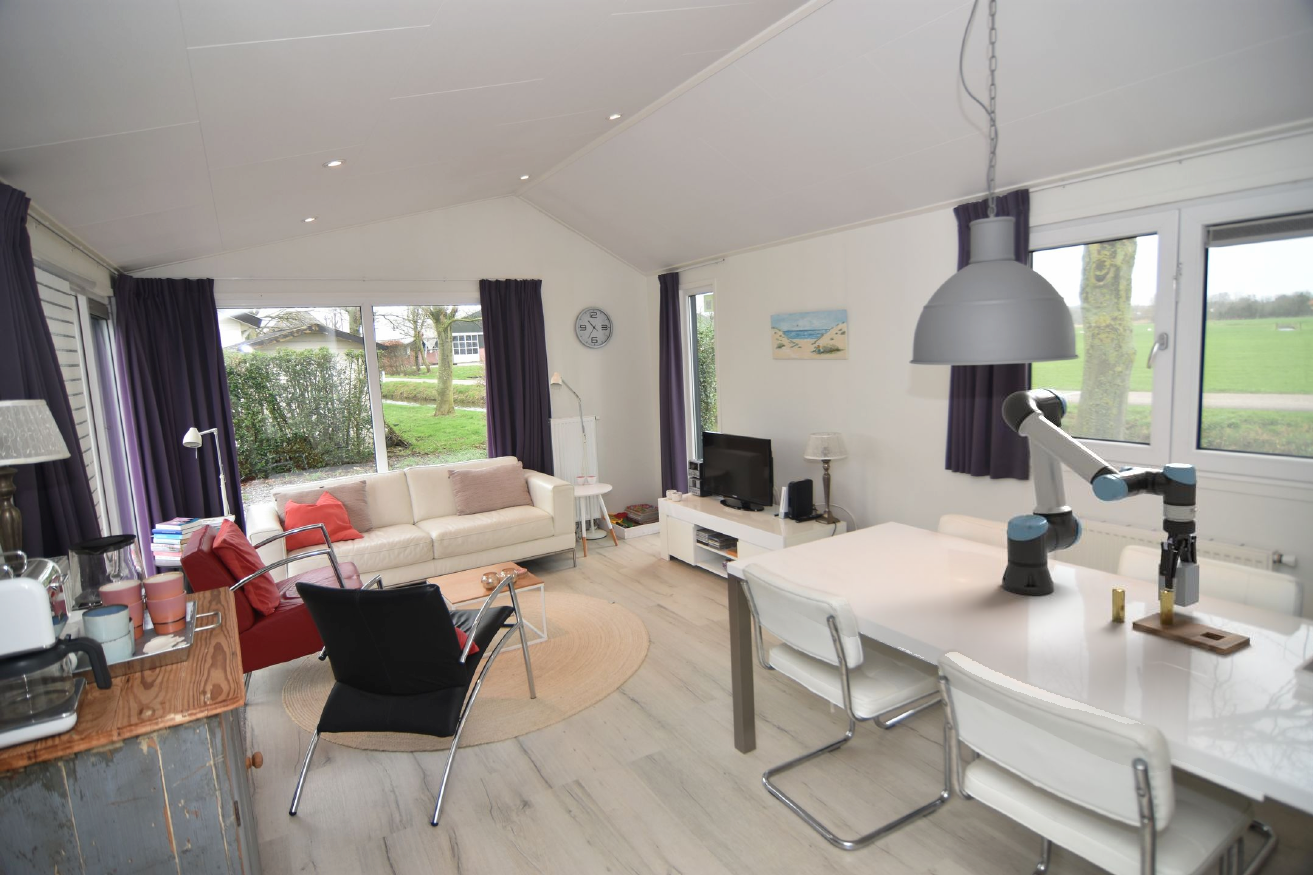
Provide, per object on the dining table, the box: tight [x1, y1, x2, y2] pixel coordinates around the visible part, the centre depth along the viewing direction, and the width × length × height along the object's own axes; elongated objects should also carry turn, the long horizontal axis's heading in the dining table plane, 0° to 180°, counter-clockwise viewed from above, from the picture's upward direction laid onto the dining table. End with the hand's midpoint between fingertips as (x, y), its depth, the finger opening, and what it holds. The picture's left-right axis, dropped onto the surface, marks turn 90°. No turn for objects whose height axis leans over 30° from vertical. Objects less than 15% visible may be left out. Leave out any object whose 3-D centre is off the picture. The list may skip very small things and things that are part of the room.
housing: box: [1157, 559, 1200, 608], centre depth 203 cm, size 7×7×11 cm
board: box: [1132, 612, 1251, 656], centre depth 189 cm, size 22×12×2 cm, turn 26°
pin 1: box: [1111, 587, 1126, 623], centre depth 201 cm, size 3×3×9 cm
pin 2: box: [1159, 590, 1175, 625], centre depth 193 cm, size 3×3×9 cm
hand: (1178, 596), depth 203 cm, fingers closed on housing, 7 cm apart
